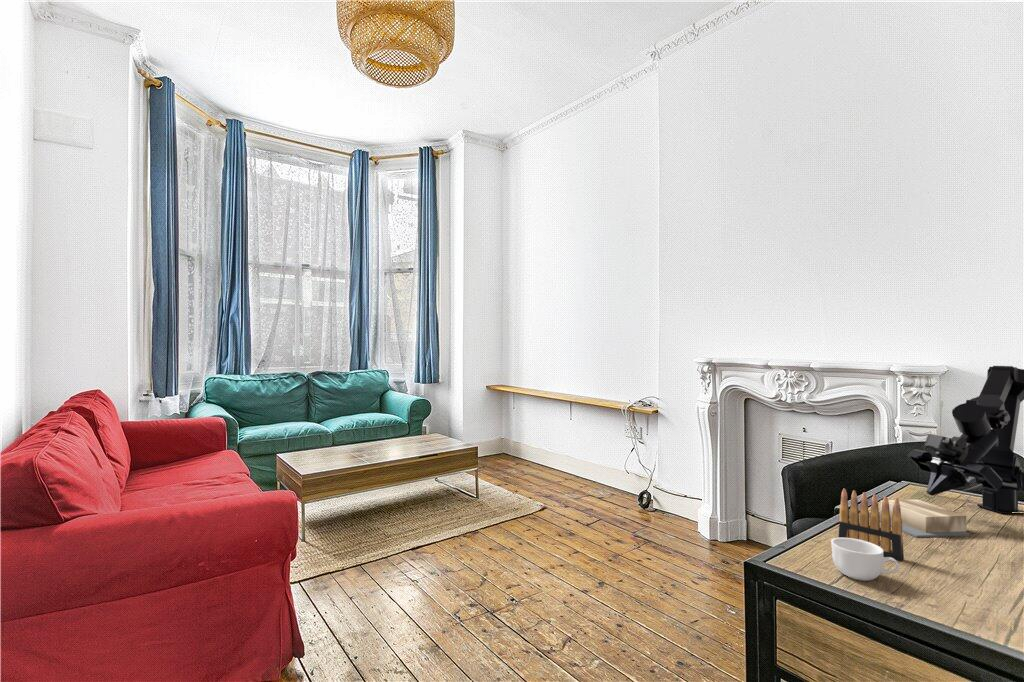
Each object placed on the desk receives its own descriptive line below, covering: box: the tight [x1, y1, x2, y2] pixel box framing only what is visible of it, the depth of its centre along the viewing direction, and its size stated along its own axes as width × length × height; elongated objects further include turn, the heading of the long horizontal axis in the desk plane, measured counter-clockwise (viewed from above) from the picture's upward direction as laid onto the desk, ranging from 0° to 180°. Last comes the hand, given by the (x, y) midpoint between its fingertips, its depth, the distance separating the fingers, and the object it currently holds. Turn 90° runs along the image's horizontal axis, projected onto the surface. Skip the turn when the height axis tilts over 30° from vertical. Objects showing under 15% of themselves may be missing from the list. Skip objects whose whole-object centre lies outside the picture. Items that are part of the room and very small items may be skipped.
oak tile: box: [879, 499, 967, 533], centre depth 116 cm, size 4×12×10 cm
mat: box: [869, 511, 971, 538], centre depth 116 cm, size 13×15×1 cm
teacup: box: [830, 537, 900, 582], centre depth 89 cm, size 10×8×5 cm
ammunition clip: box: [837, 488, 905, 563], centre depth 100 cm, size 11×2×12 cm, turn 43°
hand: (929, 493), depth 116 cm, fingers closed
